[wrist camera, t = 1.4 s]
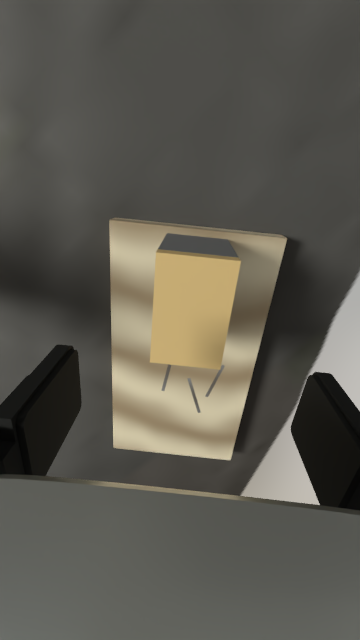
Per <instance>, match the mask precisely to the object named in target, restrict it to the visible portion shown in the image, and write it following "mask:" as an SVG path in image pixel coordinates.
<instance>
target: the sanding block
mask: <svg viewBox="0 0 360 640" xmlns="http://www.w3.org/2000/svg"><path fill="white" fill-rule="evenodd" d="M240 264H241V260H240V259H239V257H238V255H237V254H236V252H235V250H234V249H233V247H232V245H231V244H230V242H229V240H228V239H220V238H210V237H200V236H191V235H181V234H172V233H167V234H166V236H165V237H164V239H163V241H162V243H161V244H160V246H159V248H158V250H157V251H156V260H155V278H154V296H153V315H152V333H151V351H150V362H151V363H160V364H170V365H179V366H189V367H198V368H208V369H217V370H220V369H221V363H222V358H223V353H224V348H225V343H226V337H227V332H228V327H229V322H230V316H231V311H232V306H233V301H234V296H235V290H236V285H237V280H238V275H239V269H240Z"/></svg>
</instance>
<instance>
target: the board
mask: <svg viewBox="0 0 360 640" xmlns="http://www.w3.org/2000/svg"><path fill="white" fill-rule="evenodd" d="M109 223H110V279H111V335H112V390H113V446H114V448H119V449H129V450H138V451H148V452H157V453H167V454H176V455H186V456H195V457H204V458H214V459H223V460H231V456H232V452H233V448H234V444H235V440H236V436H237V433H238V429H239V425H240V421H241V417H242V413H243V409H244V405H245V401H246V397H247V394H248V390H249V386H250V382H251V378H252V374H253V370H254V366H255V362H256V358H257V354H258V351H259V347H260V343H261V339H262V335H263V331H264V327H265V323H266V319H267V315H268V312H269V308H270V304H271V300H272V296H273V292H274V288H275V284H276V280H277V276H278V273H279V269H280V265H281V261H282V257H283V253H284V249H285V245H286V241H287V238H286V237H284V236H282V235H278V234H269V233H259V232H249V231H240V230H230V229H220V228H211V227H201V226H192V225H182V224H172V223H163V222H153V221H143V220H134V219H124V218H113V219H110V220H109ZM167 233H172V234H181V235H191V236H200V237H210V238H220V239H228V240H229V242H230V244H231V245H232V247H233V249H234V250H235V252H236V254H237V255H238V257H239V259H240V260H241V264H240V269H239V275H238V280H237V285H236V290H235V296H234V301H233V306H232V311H231V316H230V322H229V327H228V332H227V337H226V343H225V348H224V353H223V358H222V363H221V369H220V370H217V369H208V368H198V367H189V366H179V365H170V364H160V363H151V362H150V351H151V333H152V315H153V296H154V278H155V260H156V251H157V250H158V248H159V246H160V244H161V243H162V241H163V239H164V237H165V236H166V234H167Z"/></svg>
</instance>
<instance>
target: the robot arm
mask: <svg viewBox="0 0 360 640" xmlns="http://www.w3.org/2000/svg"><path fill="white" fill-rule="evenodd" d="M80 408H81V389H80V375H79V361H78V352H77V350H74V348H73V347H72V346H67V345H56V346H55V347H54V349H53V350H52V351H51V352H50V353H49V354H48V355H47V356H46V357H45V358H44V360H43V361H42V362H41V363H40V364H39V365H38V366H37V367H36V368H35V370H34V371H33V372H32V373H31V374H30V375H28V376H27V377H26V378H25V379H24V380H23V381H22V382H21V383H20V384H19V385H18V386H17V387H16V388H15V390H14V391H13V392H12V393H11V394H10V395H9V396H8V397H7V398H6V399H5V401H4V402H3V403H2V404H1V405H0V640H360V411H359V410H358V409H357V407H356V406H355V405H354V403H353V402H352V401H351V399H350V398H349V397H348V395H347V394H346V393H345V391H344V390H343V389H342V387H341V386H340V385H339V383H338V382H337V381H336V380H335V378H334V377H333V376H332V375H331V374H329V373H320V372H315V373H314V374H313V375H310V376H309V377H308V379H307V382H306V384H305V387H304V390H303V393H302V396H301V399H300V402H299V404H298V407H297V410H296V413H295V416H294V419H293V422H292V425H291V433H292V436H293V439H294V441H295V444H296V446H297V448H298V451H299V453H300V456H301V458H302V461H303V463H304V466H305V468H306V471H307V473H308V476H309V478H310V481H311V483H312V486H313V488H314V491H315V493H316V496H317V498H318V501H319V503H320V505H313V504H305V503H296V502H287V501H279V500H269V499H261V498H253V497H244V496H235V495H226V494H216V493H207V492H198V491H189V490H180V489H170V488H161V487H152V486H142V485H132V484H123V483H113V482H103V481H93V480H84V479H72V478H61V477H49V476H46V474H47V472H48V470H49V468H50V466H51V464H52V462H53V461H54V459H55V457H56V455H57V453H58V451H59V449H60V447H61V445H62V443H63V442H64V440H65V438H66V436H67V434H68V432H69V430H70V428H71V426H72V424H73V423H74V421H75V419H76V417H77V415H78V413H79V411H80Z"/></svg>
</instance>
